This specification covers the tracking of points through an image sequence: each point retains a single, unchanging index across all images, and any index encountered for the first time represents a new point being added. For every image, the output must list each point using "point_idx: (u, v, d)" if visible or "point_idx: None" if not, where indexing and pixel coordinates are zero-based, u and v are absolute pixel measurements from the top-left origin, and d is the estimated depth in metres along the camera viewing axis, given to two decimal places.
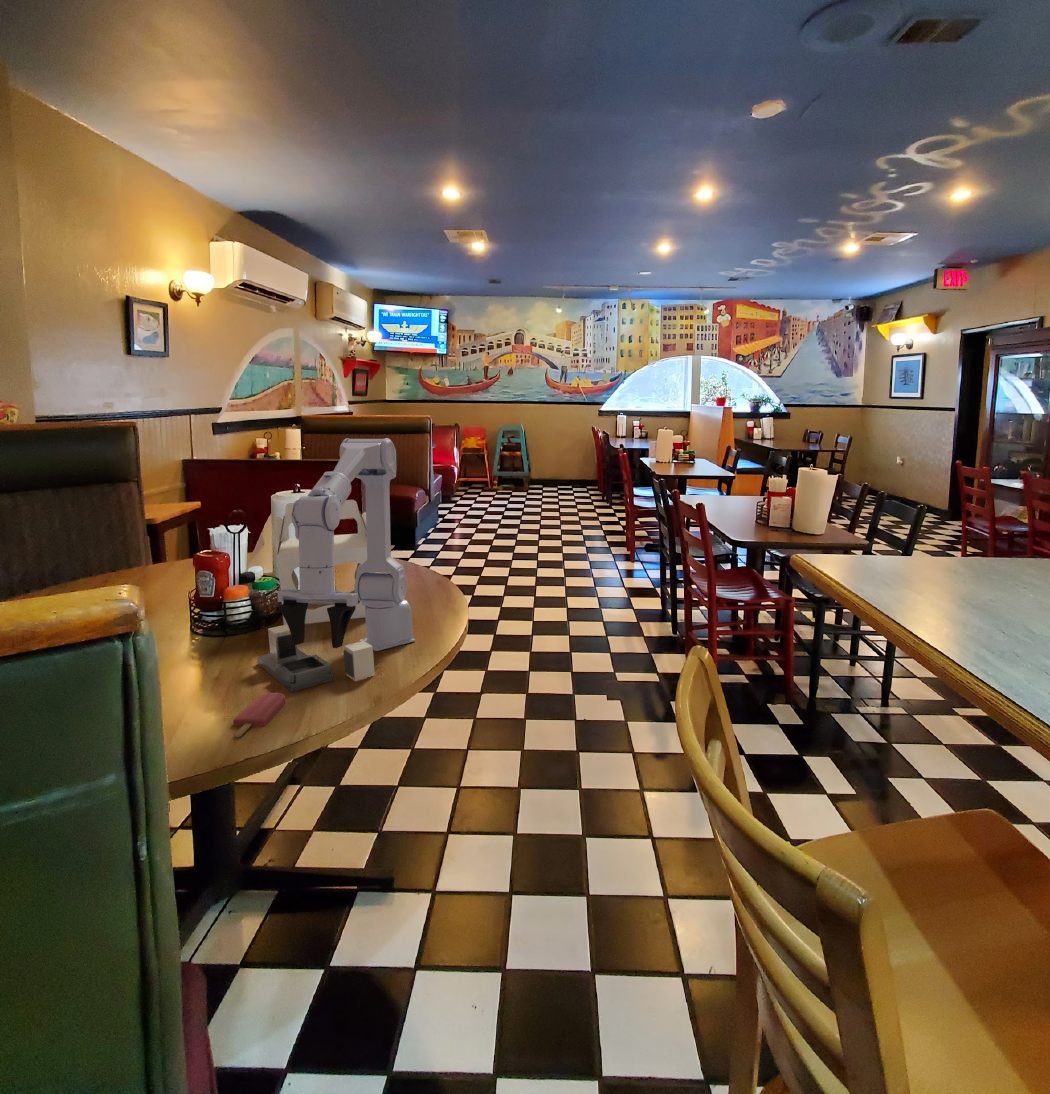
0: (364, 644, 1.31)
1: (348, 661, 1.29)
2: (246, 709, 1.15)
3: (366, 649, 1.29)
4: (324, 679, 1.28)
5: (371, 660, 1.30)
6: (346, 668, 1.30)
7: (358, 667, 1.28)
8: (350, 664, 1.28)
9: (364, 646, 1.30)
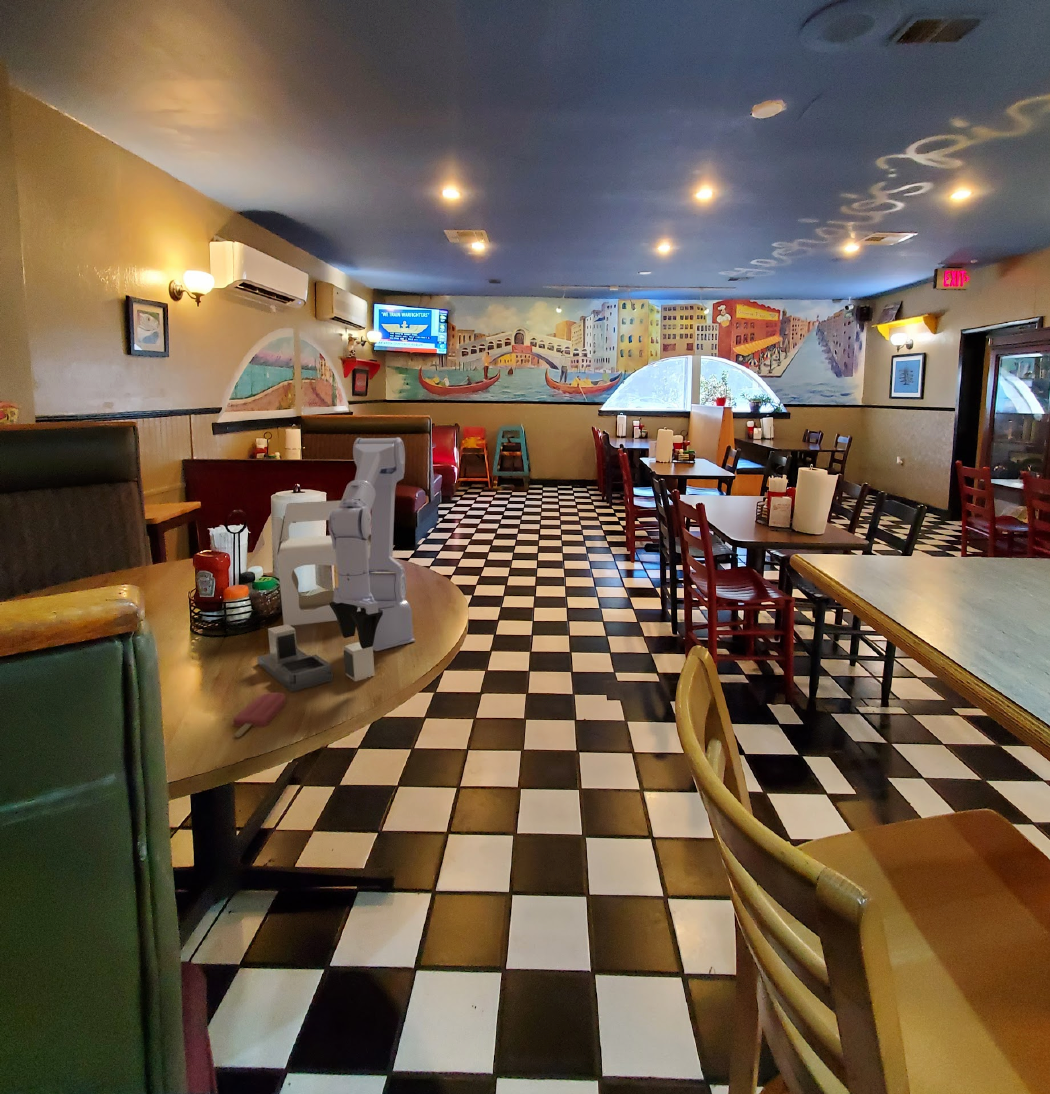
0: None
1: (348, 661, 1.29)
2: (246, 709, 1.15)
3: (366, 649, 1.29)
4: (324, 679, 1.28)
5: (371, 660, 1.30)
6: (346, 668, 1.30)
7: (358, 667, 1.28)
8: (350, 664, 1.28)
9: None
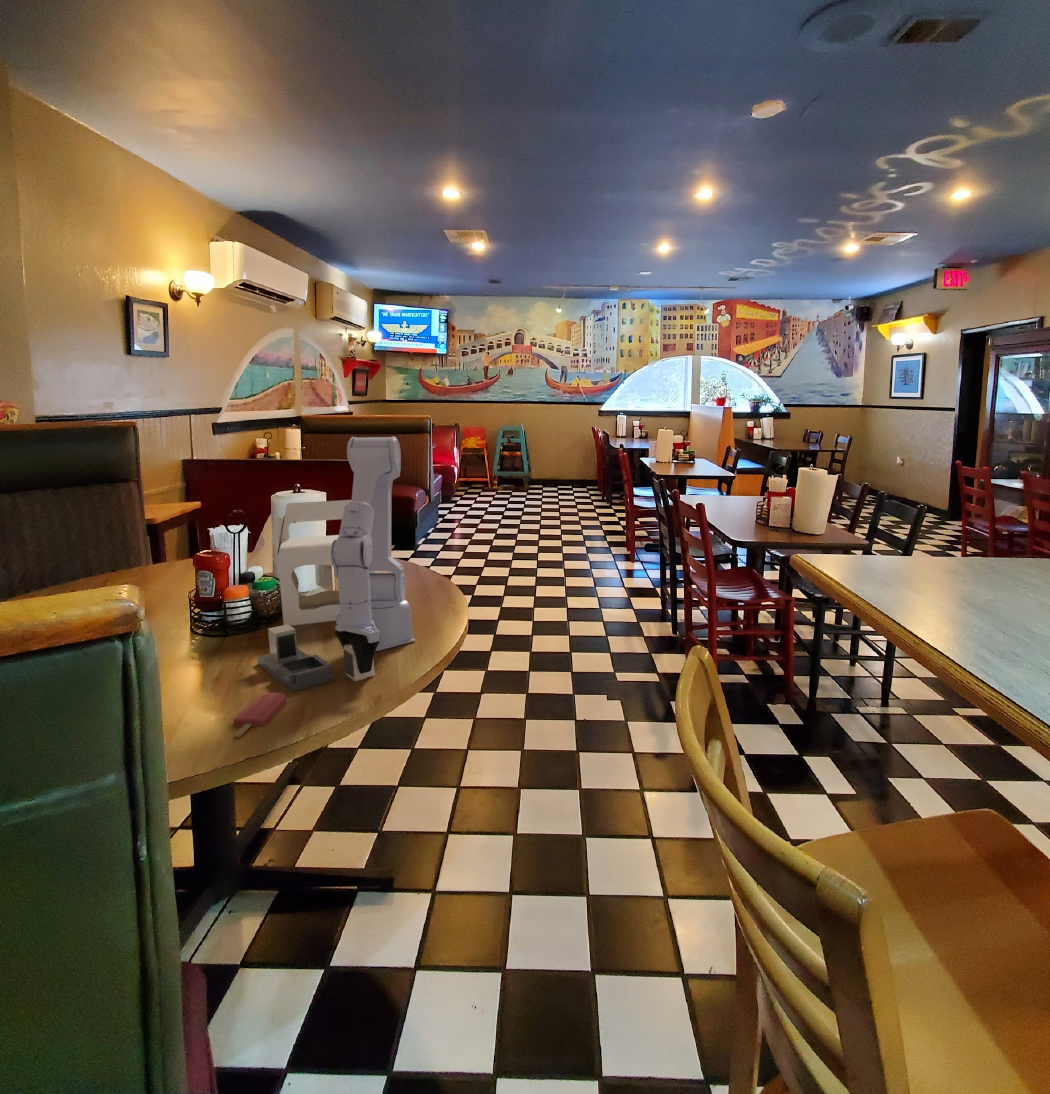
0: None
1: (348, 661, 1.29)
2: (246, 709, 1.15)
3: None
4: (324, 679, 1.28)
5: None
6: (346, 668, 1.30)
7: None
8: (350, 664, 1.28)
9: None
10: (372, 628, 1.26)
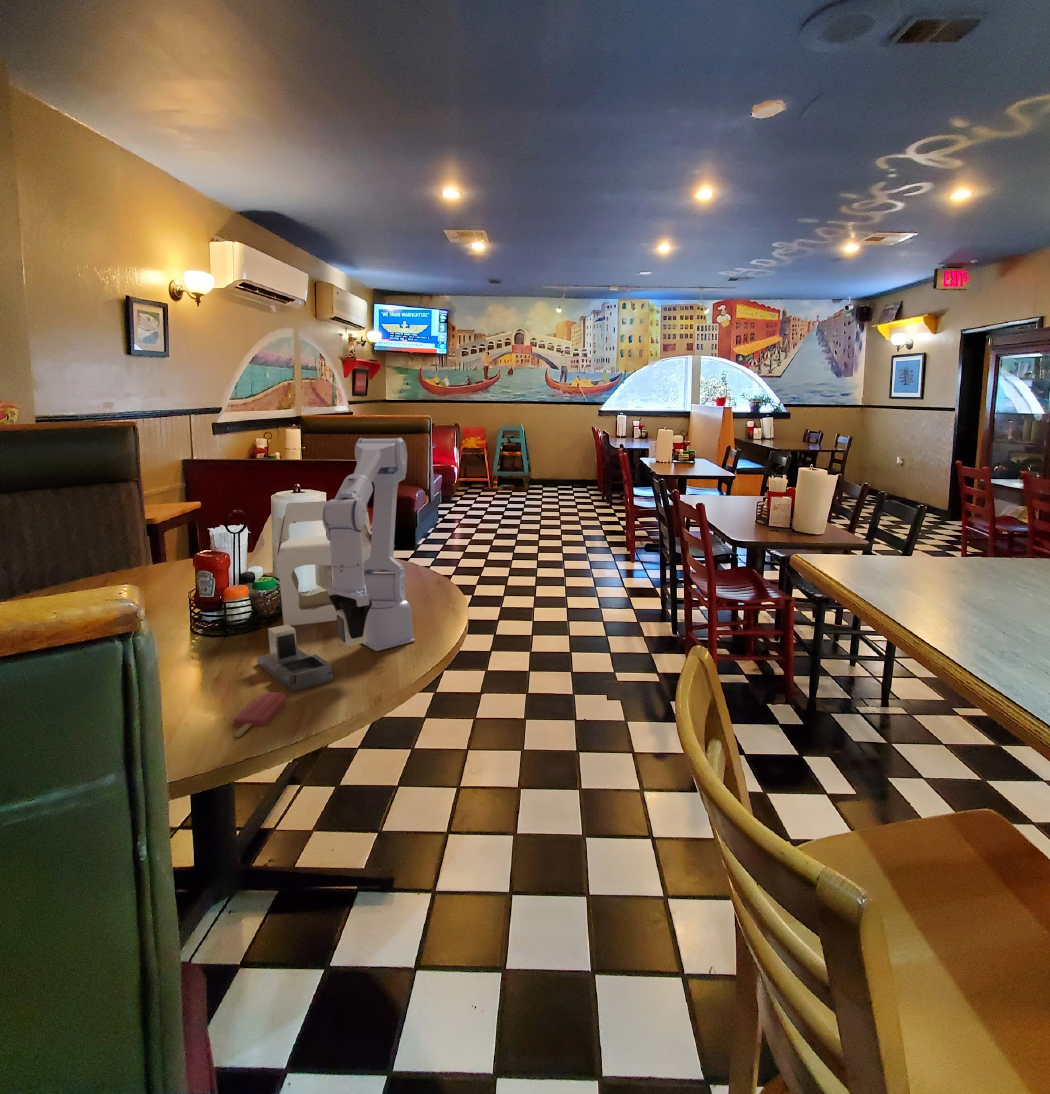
0: None
1: (340, 626, 1.27)
2: (246, 709, 1.15)
3: None
4: (324, 679, 1.28)
5: None
6: (339, 633, 1.29)
7: None
8: (341, 629, 1.27)
9: None
10: (362, 592, 1.24)
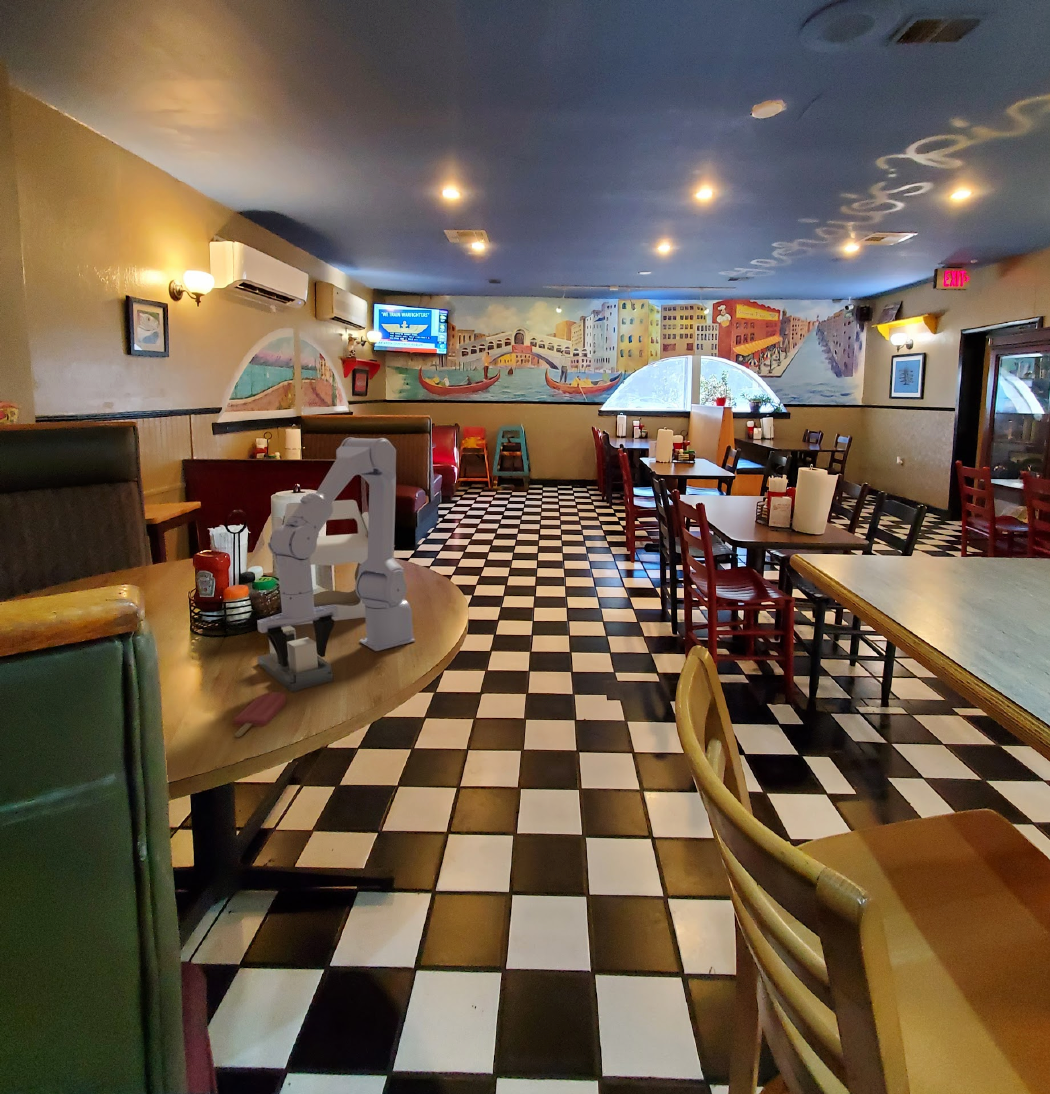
0: (303, 644, 1.27)
1: None
2: (246, 709, 1.15)
3: (292, 647, 1.26)
4: (324, 679, 1.28)
5: (295, 661, 1.26)
6: None
7: (290, 660, 1.28)
8: None
9: (297, 644, 1.26)
10: (274, 620, 1.23)
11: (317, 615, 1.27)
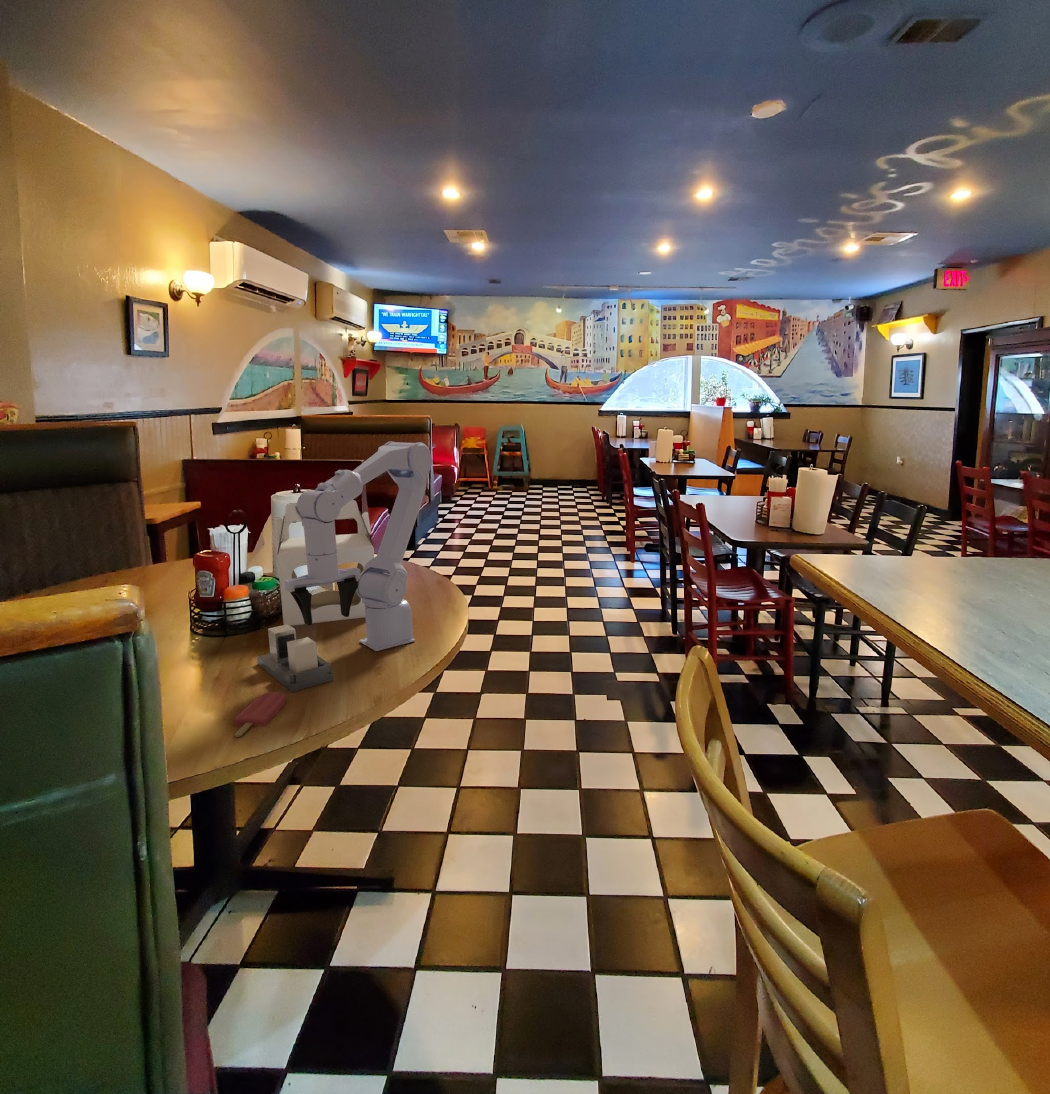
0: (303, 644, 1.27)
1: None
2: (247, 708, 1.15)
3: (292, 647, 1.26)
4: (324, 679, 1.28)
5: (295, 661, 1.26)
6: None
7: (290, 660, 1.28)
8: None
9: (297, 644, 1.26)
10: None
11: (341, 576, 1.33)
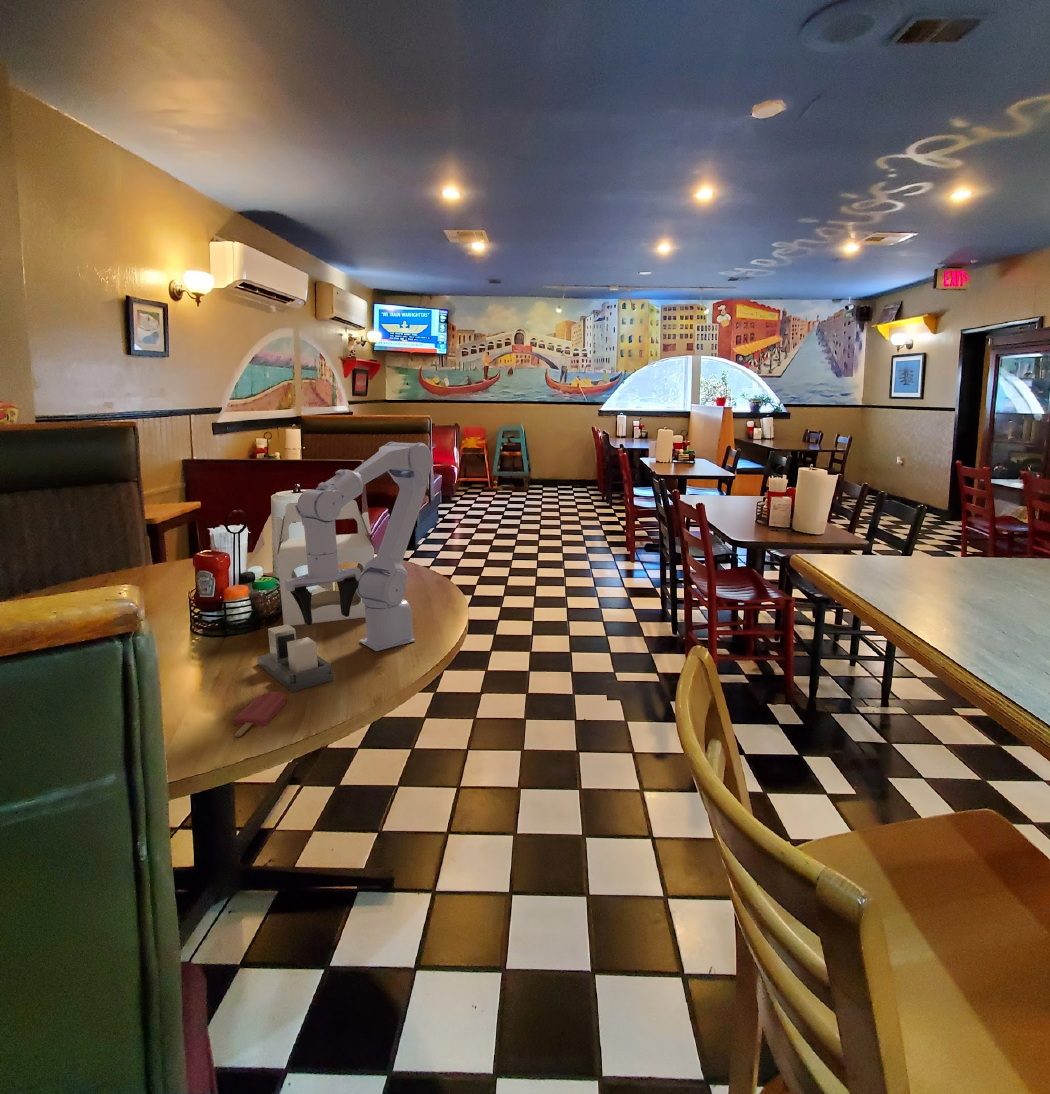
0: (303, 644, 1.27)
1: None
2: (247, 708, 1.15)
3: (292, 647, 1.26)
4: (324, 679, 1.28)
5: (295, 661, 1.26)
6: None
7: (290, 660, 1.28)
8: None
9: (297, 644, 1.26)
10: (301, 580, 1.29)
11: (341, 576, 1.33)
